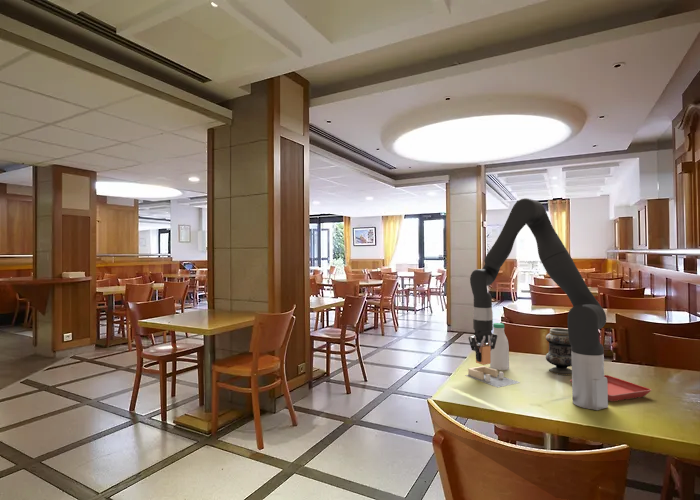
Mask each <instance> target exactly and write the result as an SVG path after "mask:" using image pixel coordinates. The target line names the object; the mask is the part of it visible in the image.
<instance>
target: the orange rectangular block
mask: <svg viewBox="0 0 700 500" xmlns="http://www.w3.org/2000/svg"><path fill="white" fill-rule="evenodd" d="M478 349H479V346H478ZM481 353H482V361H481V362H479V361H477V360H476V359H475V363H477V364H480V365H481V366H486V365H490V364H491V352H490V346H487V345H483V347H482V351H481Z"/></svg>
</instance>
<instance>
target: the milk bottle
mask: <svg viewBox="0 0 700 500" xmlns="http://www.w3.org/2000/svg"><path fill="white" fill-rule="evenodd" d="M492 334H496V335H497V340H496V344H495V348H494V349H492V350H491V364H489V366H490V367H489V368H492V369H495V370H498V371H508V370H509V369H510V350H509V346H510V345H509V340H508V337H507V336H506V334H505V323H501V322H493V333H492ZM492 344H493V343H492Z"/></svg>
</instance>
